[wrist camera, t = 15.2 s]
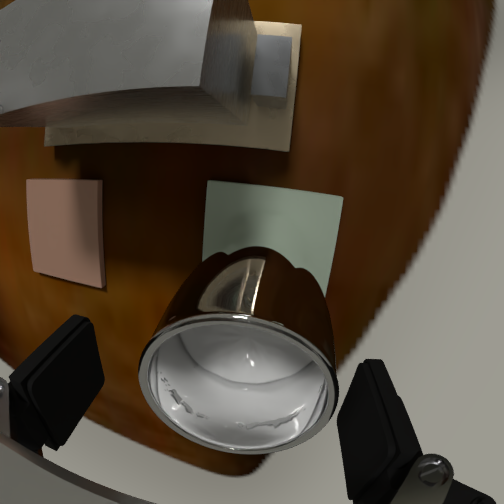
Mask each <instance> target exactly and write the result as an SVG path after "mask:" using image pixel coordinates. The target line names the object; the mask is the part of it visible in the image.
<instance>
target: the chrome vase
mask: <svg viewBox="0 0 504 504" xmlns="http://www.w3.org/2000/svg"><path fill="white" fill-rule="evenodd" d="M305 257H306V250H305V244H304V240H303V238H302V236H301V234H300V232H299V231H298V229H297V228H296V227H295V226H294V225H293V224H292V223H291V222H290V221H288V220H287V219H285V218H283V217H281V216H278V215H275V214H269V213H259V214H254V215H251V216H248V217H246V218H244V219H242V220H241V221H239V222H238V223H237V224H236V225H235V226H234V227H233V228H232V230H231V231H230V233H229V235H228V237H227V239H226V242H225V246H224V247H223V248H221V249H219V250H217V251H216V252H214V253H213V254H212V255H210V256H209V257H208V258H206V259H205V260H204V261H203V262H201V263H200V264H199V265H198V266H197V267H196V268H195V269H194V270H193V272H192V273H191V274H190V275H189V276H188V277H187V279H186V280H185V281H184V282H183V283H182V285H181V286H180V288H179V289H178V291H177V292H176V294H175V295H174V297H173V298H172V300H171V301H170V303H169V305H168V307H167V308H166V310H165V312H164V314H163V316H162V317H161V319H160V321H159V323H158V325H157V327H156V329H155V331H154V333H153V335H152V337H151V339H150V340H149V342H148V343H147V344H146V346H145V348H144V349H143V351H142V354H141V357H140V360H139V366H138V376H139V383H140V387H141V390H142V392H143V395H144V397H145V399H146V401H147V402H148V404H149V406H150V407H151V408H152V410H153V411H154V412H155V413H156V415H157V416H158V417H159V418H160V419H161V420H162V421H163V422H164V423H165V424H167V425H168V426H169V427H170V428H172V429H173V430H174V431H176V432H177V433H179V434H180V435H182V436H184V437H185V438H187V439H189V440H191V441H193V442H195V443H198V444H200V445H203V446H206V447H209V448H212V449H215V450H219V451H224V452H229V453H237V454H265V453H272V452H278V451H282V450H285V449H289V448H292V447H294V446H297V445H299V444H301V443H303V442H305V441H306V440H308V439H310V438H312V437H313V436H314V435H316V434H317V433H318V432H319V431H320V430H321V429H322V428H323V427H324V426H325V425H326V424H327V423H328V422H329V420H330V419H331V417H332V415H333V414H334V411H335V409H336V406H337V403H338V397H339V386H338V380H337V375H336V357H335V345H334V335H333V329H332V324H331V318H330V314H329V310H328V307H327V303H326V300H325V297H324V294H323V292H322V289H321V287H320V285H319V283H318V282H317V280H316V278H315V276H314V275H313V273H312V271H311V270H310V268H309V267H308V266H307V264H306V263H305Z"/></svg>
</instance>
